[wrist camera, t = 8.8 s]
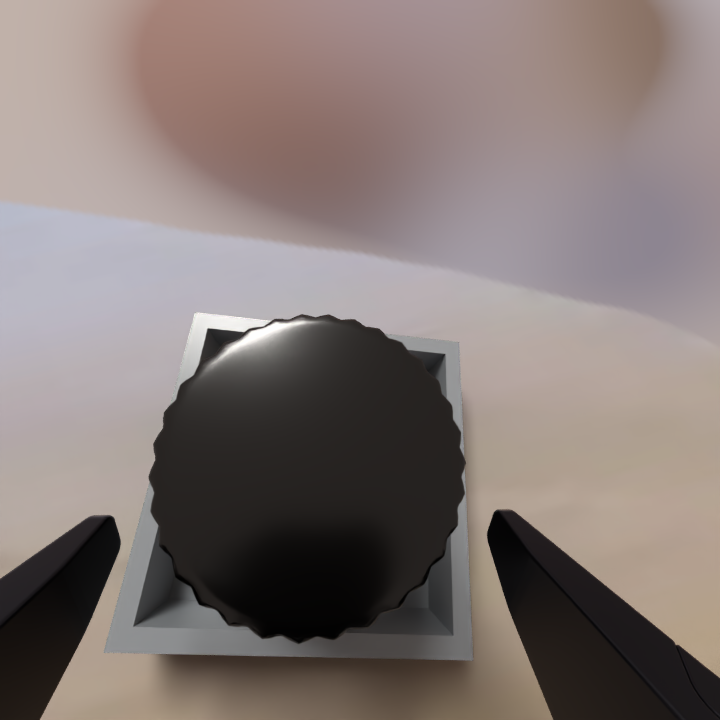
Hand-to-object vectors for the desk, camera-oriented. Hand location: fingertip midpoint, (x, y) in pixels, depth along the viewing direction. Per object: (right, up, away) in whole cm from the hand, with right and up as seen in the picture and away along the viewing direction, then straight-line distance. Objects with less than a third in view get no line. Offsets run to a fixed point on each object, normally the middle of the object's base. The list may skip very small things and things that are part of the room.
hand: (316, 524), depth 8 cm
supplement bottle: (-1, -2, +8) cm, 9 cm away
